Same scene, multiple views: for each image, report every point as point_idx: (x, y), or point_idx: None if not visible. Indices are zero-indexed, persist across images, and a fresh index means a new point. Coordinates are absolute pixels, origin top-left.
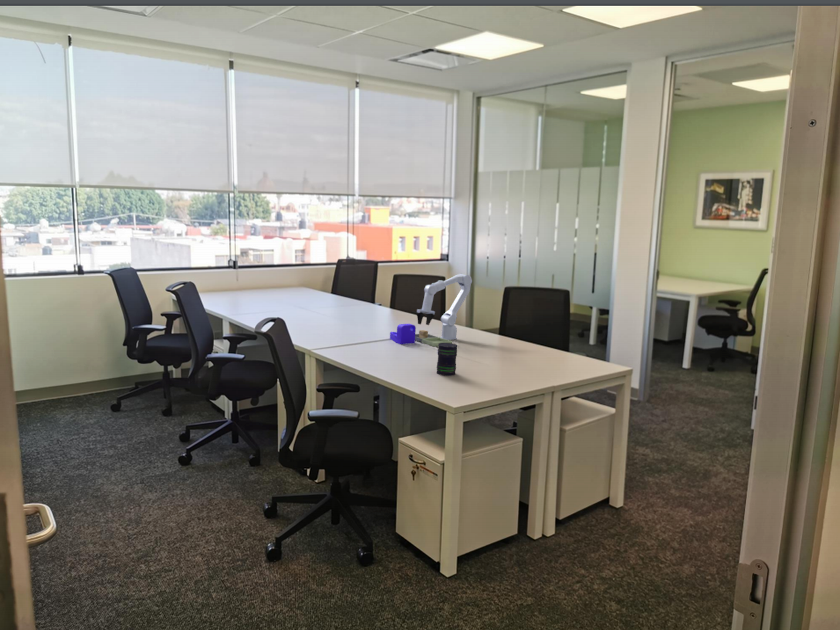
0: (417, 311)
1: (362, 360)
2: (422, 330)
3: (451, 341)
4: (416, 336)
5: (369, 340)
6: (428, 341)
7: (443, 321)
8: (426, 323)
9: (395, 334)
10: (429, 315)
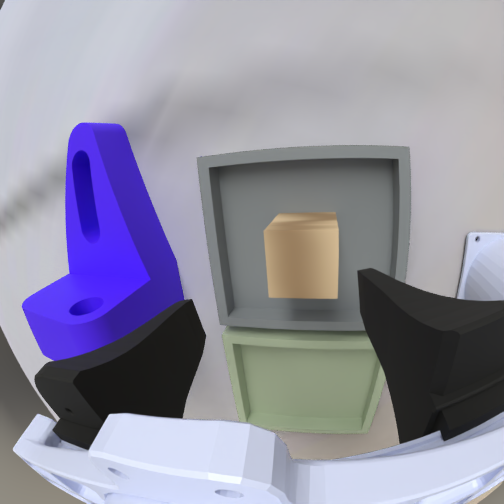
0: (39, 433)
1: (32, 369)
2: (300, 246)
3: (362, 432)
4: (287, 160)
5: (30, 169)
6: (233, 388)
7: None
8: (361, 284)
9: (72, 220)
10: (414, 412)
